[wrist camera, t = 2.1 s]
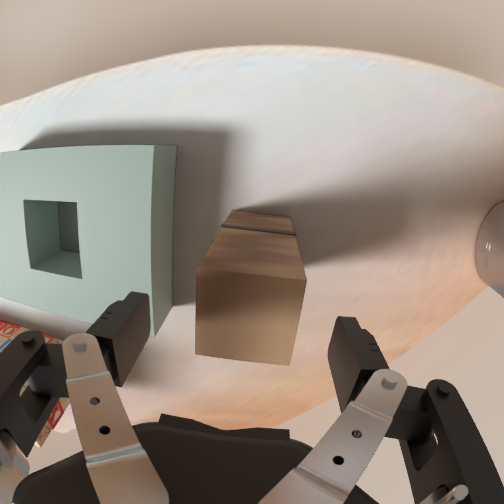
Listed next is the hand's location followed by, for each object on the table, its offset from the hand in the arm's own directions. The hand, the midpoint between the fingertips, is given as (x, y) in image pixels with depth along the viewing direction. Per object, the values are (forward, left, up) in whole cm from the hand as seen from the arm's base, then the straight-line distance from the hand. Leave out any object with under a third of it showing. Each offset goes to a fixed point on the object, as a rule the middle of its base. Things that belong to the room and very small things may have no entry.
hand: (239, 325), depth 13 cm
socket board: (+16, 0, -13) cm, 20 cm away
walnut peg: (0, 0, -13) cm, 13 cm away
